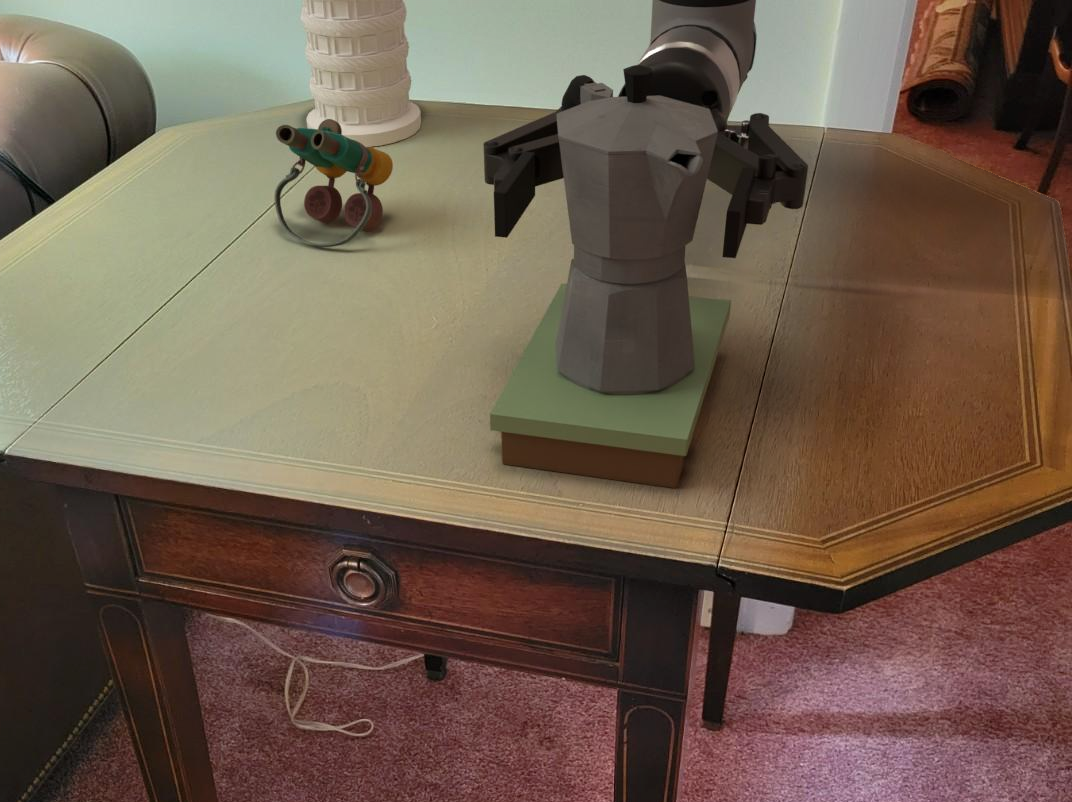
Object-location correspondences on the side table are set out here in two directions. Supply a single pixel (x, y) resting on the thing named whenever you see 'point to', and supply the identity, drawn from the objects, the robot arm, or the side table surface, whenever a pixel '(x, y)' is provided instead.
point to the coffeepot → (629, 233)
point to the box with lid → (604, 410)
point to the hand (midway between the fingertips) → (612, 225)
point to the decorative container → (360, 69)
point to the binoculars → (335, 176)
